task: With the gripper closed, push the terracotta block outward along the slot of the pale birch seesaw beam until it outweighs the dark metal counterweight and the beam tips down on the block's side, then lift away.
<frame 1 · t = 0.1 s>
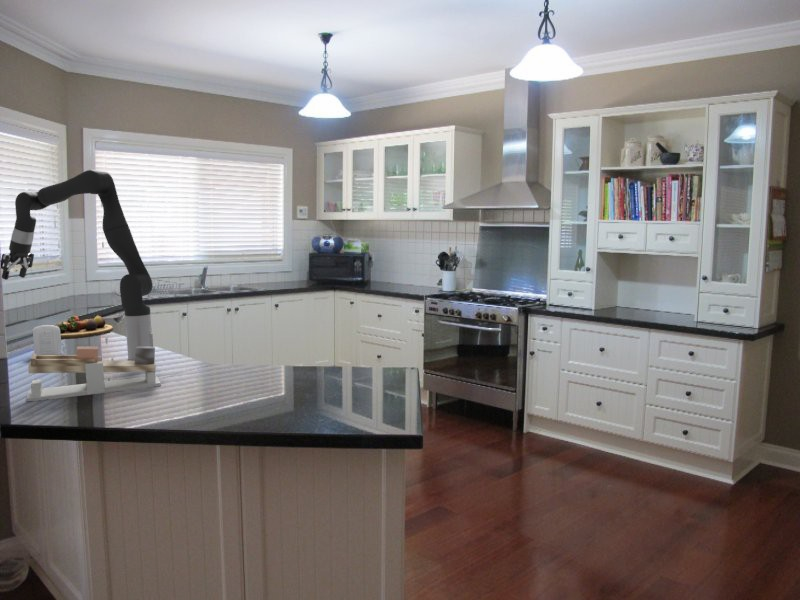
hand: (13, 278, 272), 31 cm above the countertop, fingers open, 8 cm apart
wooden plate with food: (77, 334, 327), on the countertop
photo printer: (48, 355, 273), on the countertop
rider: (86, 363, 212), point 9 cm above the countertop, tilted 6°, touching beam
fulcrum: (95, 389, 214), on the countertop
beam: (94, 358, 213), point 10 cm above the countertop, hinge at -6.0°, touching rider
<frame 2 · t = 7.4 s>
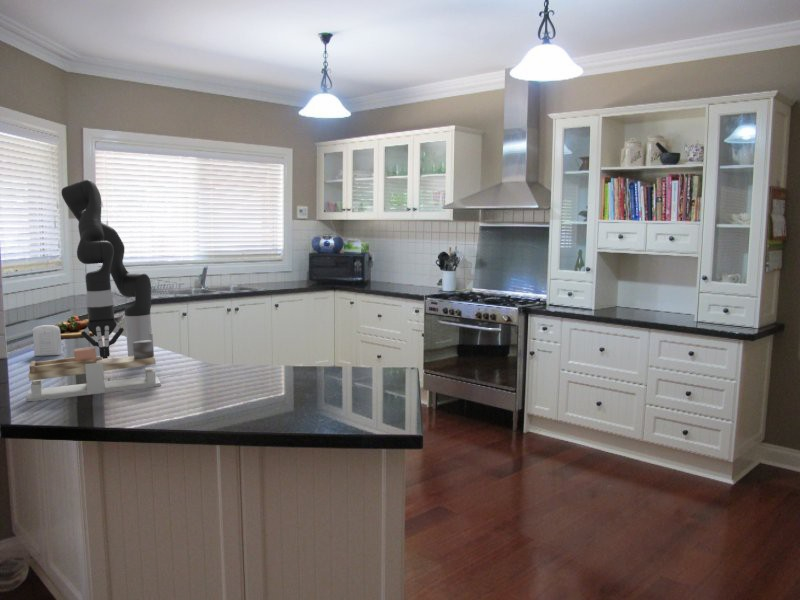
hand: (104, 358, 214), 10 cm above the countertop, fingers closed
rider: (86, 364, 212), point 8 cm above the countertop, touching beam, gripper
beam: (93, 358, 213), point 10 cm above the countertop, hinge at 1.6°, touching rider
everything else where it was.
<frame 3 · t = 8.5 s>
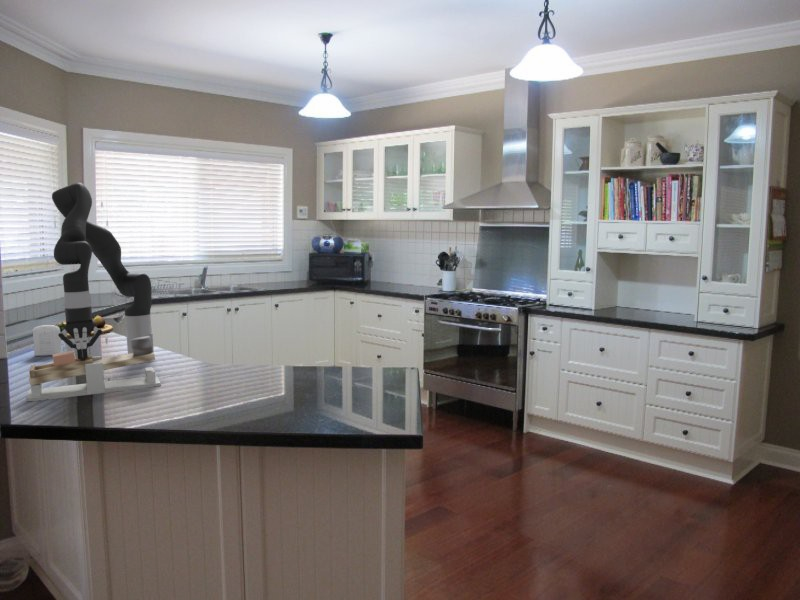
hand: (82, 360, 211), 10 cm above the countertop, fingers closed
rider: (66, 368, 209), point 8 cm above the countertop, tilted 6°, touching beam, gripper
beam: (92, 358, 213), point 10 cm above the countertop, hinge at 6.0°, touching rider
everything else where it was.
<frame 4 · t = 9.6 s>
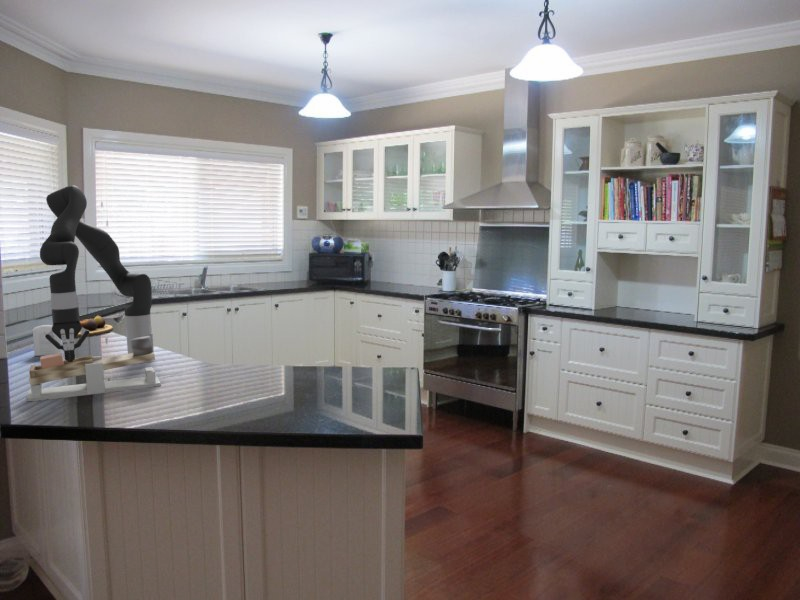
hand: (70, 361, 210), 10 cm above the countertop, fingers closed
rider: (54, 371, 208), point 7 cm above the countertop, tilted 6°, touching beam, gripper
everything else where it was.
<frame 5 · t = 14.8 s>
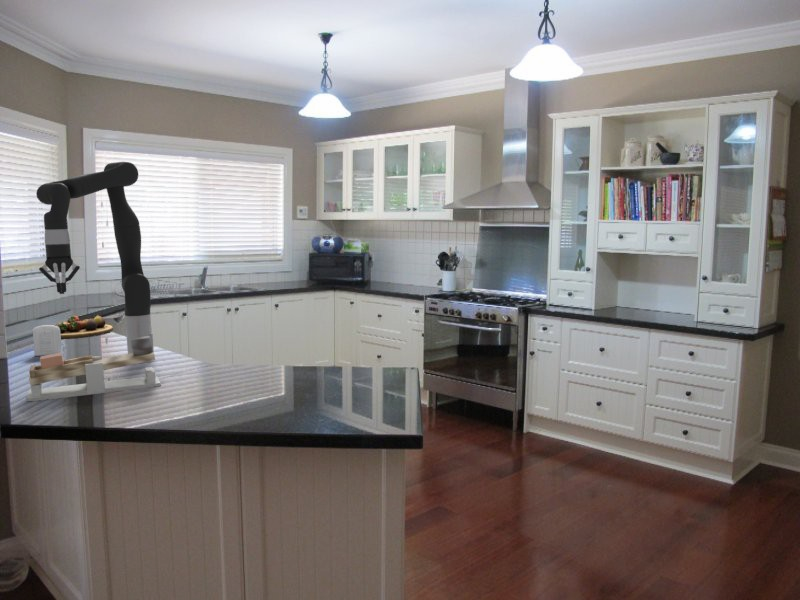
hand: (61, 293, 229), 29 cm above the countertop, fingers closed
rider: (54, 371, 208), point 7 cm above the countertop, tilted 6°, touching beam
everything else where it was.
at the end: beam at +6° (first picture: -6°); rider inside the target area on the beam (0.5 cm from its centre), point 0.0 cm above the beam's base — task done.
